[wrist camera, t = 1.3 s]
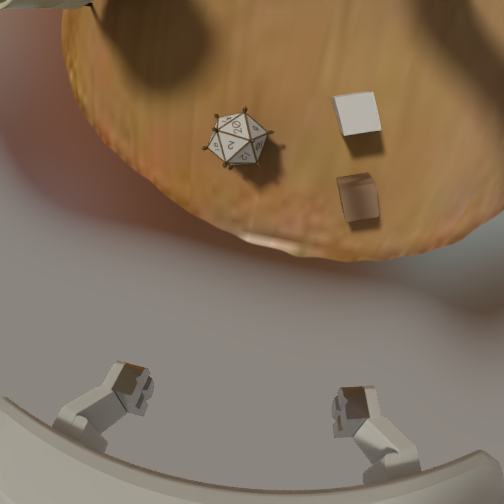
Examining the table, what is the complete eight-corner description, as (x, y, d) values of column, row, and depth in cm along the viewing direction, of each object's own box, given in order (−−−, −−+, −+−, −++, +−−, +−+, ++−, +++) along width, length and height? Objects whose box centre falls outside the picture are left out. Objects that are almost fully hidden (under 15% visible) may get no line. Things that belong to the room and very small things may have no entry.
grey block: (364, 91, 30) (373, 92, 26) (372, 124, 32) (381, 130, 28) (330, 96, 31) (334, 97, 27) (339, 130, 34) (344, 135, 30)
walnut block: (368, 172, 36) (375, 183, 32) (372, 202, 39) (379, 216, 35) (336, 177, 38) (339, 189, 34) (341, 207, 40) (345, 222, 36)
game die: (237, 126, 40) (192, 104, 31) (285, 118, 35) (244, 88, 27) (232, 180, 40) (183, 167, 32) (282, 178, 36) (237, 160, 27)
